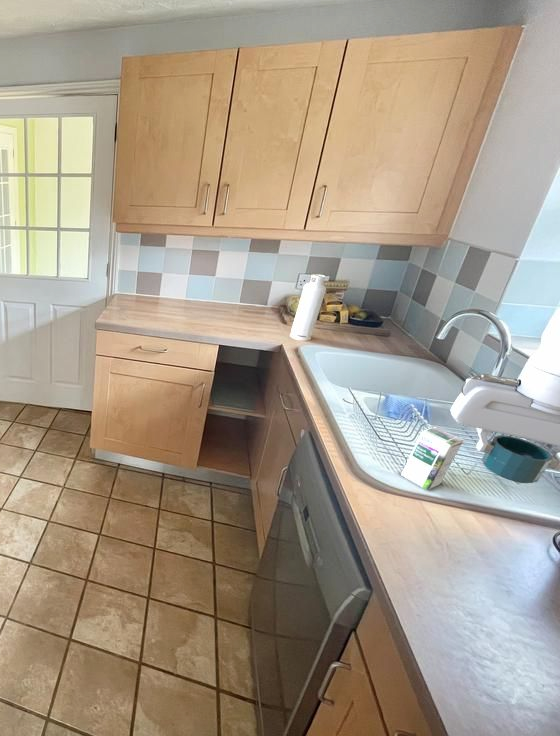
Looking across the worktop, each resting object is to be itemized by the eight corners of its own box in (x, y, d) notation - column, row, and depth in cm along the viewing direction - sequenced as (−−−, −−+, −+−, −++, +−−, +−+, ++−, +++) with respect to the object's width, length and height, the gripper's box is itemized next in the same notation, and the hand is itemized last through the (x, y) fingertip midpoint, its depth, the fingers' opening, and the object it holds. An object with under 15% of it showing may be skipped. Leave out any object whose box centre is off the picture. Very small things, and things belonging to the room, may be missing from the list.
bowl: (526, 466, 72) (541, 443, 70) (544, 491, 67) (560, 466, 65) (475, 453, 75) (487, 431, 73) (487, 476, 70) (501, 452, 68)
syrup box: (397, 479, 101) (421, 430, 95) (411, 473, 103) (435, 425, 97) (424, 495, 96) (450, 444, 90) (438, 488, 98) (465, 438, 92)
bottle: (285, 334, 186) (303, 273, 175) (299, 333, 189) (317, 272, 177) (300, 341, 179) (319, 278, 168) (314, 339, 182) (334, 277, 170)
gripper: (476, 378, 66) (440, 448, 72) (673, 415, 57) (614, 492, 63) (464, 363, 71) (432, 430, 77) (644, 395, 62) (592, 468, 68)
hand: (515, 458), depth 70 cm, fingers closed on bowl, 7 cm apart
